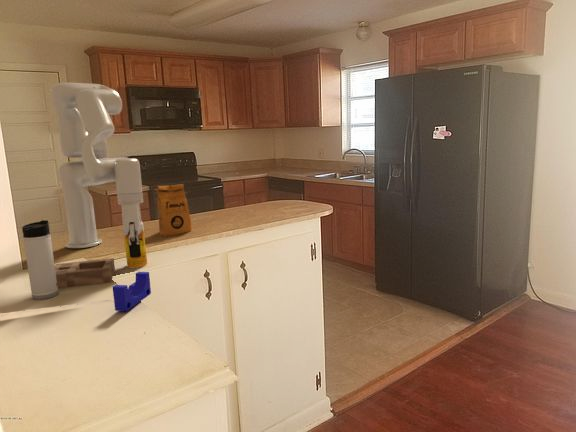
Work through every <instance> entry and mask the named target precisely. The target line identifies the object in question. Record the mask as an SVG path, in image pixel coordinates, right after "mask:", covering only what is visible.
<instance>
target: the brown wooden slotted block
mask: <svg viewBox="0 0 576 432" xmlns="http://www.w3.org/2000/svg"><path fill="white" fill-rule="evenodd" d="M54 265H55V272H56V279H57V286H58V287H57V288H58V289H61V288H70V287H71V288H72V287H79V286H88V285H95V284H105V283H106V284H107V283H111V282H112V280H113V277H114V273H115V271H116V270H115V269H116V268H115V267H116V265H115V259H114V257H111V258H102V259H92V260H83V261H72V262H64V263H56V264H55V263H54Z"/></svg>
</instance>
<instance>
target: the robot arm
mask: <svg viewBox="0 0 576 432" xmlns="http://www.w3.org/2000/svg"><path fill="white" fill-rule="evenodd" d="M50 92H51V93H50V96H51V99H50V100H51V103H52V107H53V109H54V111H55V114H56V116H57V121H58V132H59V133H58V134H59V143H60V149H61V153H62V155H63V156H64V157H66V158H71V159H73V158H74V159H76V158H78V159H79V158H81V160H76V161H74V160H73V161H67V162H63V163H62V164H61V165H60V166H59V167H58V171H57V174H58V175H57V176H58V178H59V181H60V185H61V189H62V192H63V198H64V205H65V212H66V213H65V214H66V220H67V226H68V227H67V228H68V235H69V241H68V242H67V243H66V244H65V246H66V248H68V249H85V248H92V247H95V246H98V244H99V245H100V243H101V244H102V243H103V239H102V238H99V237H98V232H97V226H96V225H97V224H96V215H95V208H94V207H95V206H94V199H93V197H92V194H91V193H90V192H89V191H88V190H87V188H85V187H90V186H99V185H103V184H106V183H112V182H113V183H114V182H115V188H116V195H117V197H116V198H117V204H118V205H119V206H121V219H122V227H123V229H122V231H123V237H124V236H126V235H128V233H129V251H130V257H131V258H134V257H140V256H141V250H140V244H139V239H138V235H139V234H140V231H141V220H142V213H141V204H142V203H144V195H143V184H142V183H143V182H142V174H141V165H140V164H141V163H140V161H139V159H138V158H132V157H131V158H129V157H127V156H126V157H125V156H123V157H120V156H119V157H109V148H108V143H107V142H108V141H107V139H109V138H110V137H112V136H113V135H114V133H115V128H116V127H115V125H114V124H113V123H114V122H113V121H112V118H111V116H112V115H113V116H114V115H115V116H116V115H119V114H121V112H122V109H123V100H122V98H121V95H120V94H119V93H118V92H117V91H116V90H115V89H114V88H111V87H108V86H106V85H103V84H100V83H87V82H85V83H84V82H59V83H55V84H54V85H53V87H51V91H50ZM110 115H111V116H110ZM134 225H135V228H134ZM136 232H137V234H135V233H136Z"/></svg>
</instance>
